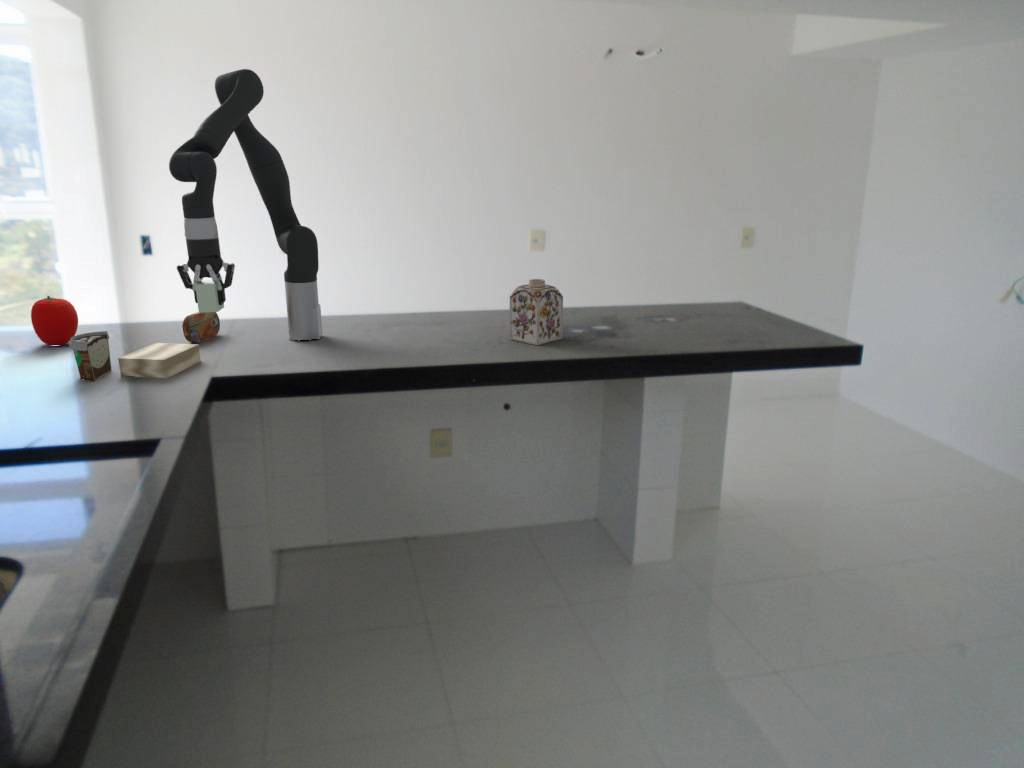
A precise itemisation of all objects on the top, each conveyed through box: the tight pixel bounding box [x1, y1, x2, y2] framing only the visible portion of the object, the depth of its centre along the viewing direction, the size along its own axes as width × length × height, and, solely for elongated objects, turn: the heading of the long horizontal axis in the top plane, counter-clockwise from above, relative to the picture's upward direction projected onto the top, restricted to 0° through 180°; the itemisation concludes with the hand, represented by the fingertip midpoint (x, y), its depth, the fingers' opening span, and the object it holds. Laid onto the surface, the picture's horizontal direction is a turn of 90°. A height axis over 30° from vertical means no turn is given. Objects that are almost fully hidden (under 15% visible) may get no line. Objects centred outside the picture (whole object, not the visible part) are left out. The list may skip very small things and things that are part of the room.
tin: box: [182, 311, 221, 344], centre depth 218 cm, size 15×3×8 cm, turn 168°
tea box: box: [195, 280, 225, 313], centre depth 186 cm, size 4×6×7 cm
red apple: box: [30, 295, 79, 346], centre depth 211 cm, size 13×11×14 cm
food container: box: [68, 330, 113, 382], centre depth 180 cm, size 12×6×10 cm, turn 5°
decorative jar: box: [508, 278, 564, 346], centre depth 218 cm, size 12×12×18 cm
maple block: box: [117, 342, 202, 379], centre depth 188 cm, size 12×16×5 cm
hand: (210, 304), depth 187 cm, fingers closed on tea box, 4 cm apart
